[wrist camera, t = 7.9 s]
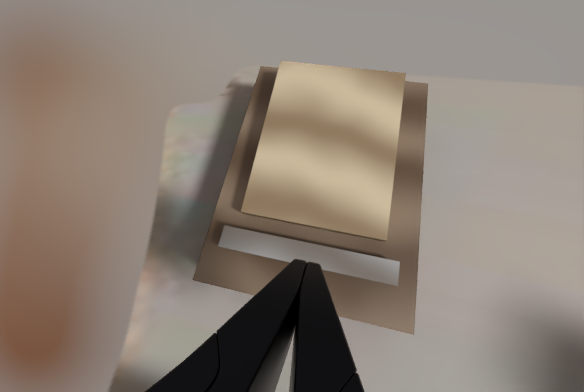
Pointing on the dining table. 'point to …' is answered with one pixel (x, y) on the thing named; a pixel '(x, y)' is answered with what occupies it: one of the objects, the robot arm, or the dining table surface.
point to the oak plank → (328, 150)
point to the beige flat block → (319, 243)
